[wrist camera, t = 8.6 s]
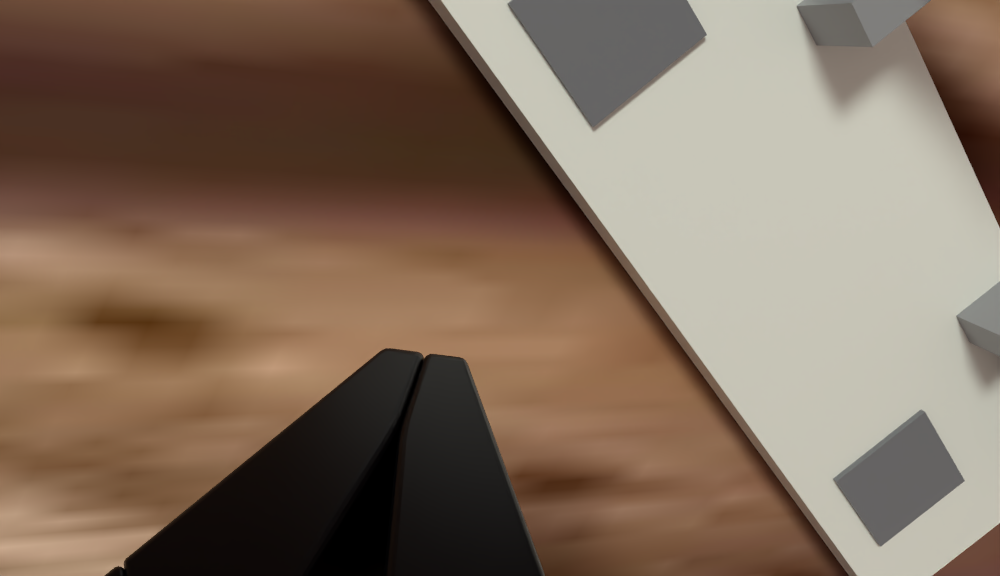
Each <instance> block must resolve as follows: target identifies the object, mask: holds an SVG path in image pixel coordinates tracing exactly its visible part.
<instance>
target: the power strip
mask: <svg viewBox="0 0 1000 576" xmlns="http://www.w3.org/2000/svg"><path fill="white" fill-rule="evenodd" d="M929 1H931V0H429V2H430V3H431V5H432V6H433V7H434V9H435V10H436V11H437V13H438V14H439V16H440V17H441V18H442V20H443V21H444V22H445V24H446V25H447V26H448V28H449V29H450V31H451V32H452V33H453V35H454V36H455V37H456V39H457V40H458V42H459V43H460V44H461V46H462V47H463V48H464V50H465V51H466V52H467V54H468V55H469V57H470V58H471V59H472V61H473V62H474V63H475V65H476V66H477V68H478V69H479V70H480V72H481V73H482V74H483V76H484V77H485V78H486V80H487V81H488V83H489V84H490V85H491V87H492V88H493V89H494V91H495V92H496V94H497V95H498V96H499V98H500V99H501V100H502V102H503V103H504V104H505V106H506V107H507V109H508V110H509V111H510V113H511V114H512V115H513V117H514V118H515V120H516V121H517V122H518V124H519V125H520V126H521V128H522V129H523V130H524V132H525V133H526V135H527V136H528V137H529V139H530V140H531V141H532V143H533V144H534V146H535V147H536V148H537V150H538V151H539V152H540V154H541V155H542V156H543V158H544V159H545V161H546V162H547V163H548V165H549V166H550V167H551V169H552V170H553V172H554V173H555V174H556V176H557V177H558V178H559V180H560V181H561V182H562V184H563V185H564V187H565V188H566V189H567V191H568V192H569V193H570V195H571V196H572V198H573V199H574V200H575V202H576V203H577V204H578V206H579V207H580V208H581V210H582V211H583V213H584V214H585V215H586V217H587V218H588V219H589V221H590V222H591V224H592V225H593V226H594V228H595V229H596V230H597V232H598V233H599V234H600V236H601V237H602V239H603V240H604V241H605V243H606V244H607V245H608V247H609V248H610V250H611V251H612V252H613V254H614V255H615V256H616V258H617V259H618V260H619V262H620V263H621V265H622V266H623V267H624V269H625V270H626V271H627V273H628V274H629V276H630V277H631V278H632V280H633V281H634V282H635V284H636V285H637V286H638V288H639V289H640V291H641V292H642V293H643V295H644V296H645V297H646V299H647V300H648V302H649V303H650V304H651V306H652V307H653V308H654V310H655V311H656V312H657V314H658V315H659V317H660V318H661V319H662V321H663V322H664V323H665V325H666V326H667V328H668V329H669V330H670V332H671V333H672V334H673V336H674V337H675V338H676V340H677V341H678V343H679V344H680V345H681V347H682V348H683V349H684V351H685V352H686V354H687V355H688V356H689V358H690V359H691V360H692V362H693V363H694V364H695V366H696V367H697V369H698V370H699V371H700V373H701V374H702V375H703V377H704V378H705V380H706V381H707V382H708V384H709V385H710V386H711V388H712V389H713V390H714V392H715V393H716V395H717V396H718V397H719V399H720V400H721V401H722V403H723V404H724V406H725V407H726V408H727V410H728V411H729V412H730V414H731V415H732V416H733V418H734V419H735V421H736V422H737V423H738V425H739V426H740V427H741V429H742V430H743V432H744V433H745V434H746V436H747V437H748V438H749V440H750V441H751V442H752V444H753V445H754V447H755V448H756V449H757V451H758V452H759V453H760V455H761V456H762V458H763V459H764V460H765V462H766V463H767V464H768V466H769V467H770V468H771V470H772V471H773V473H774V474H775V475H776V477H777V478H778V479H779V481H780V482H781V484H782V485H783V486H784V488H785V489H786V490H787V492H788V493H789V494H790V496H791V497H792V499H793V500H794V501H795V503H796V504H797V505H798V507H799V508H800V510H801V511H802V512H803V514H804V515H805V516H806V518H807V519H808V520H809V522H810V523H811V525H812V526H813V527H814V529H815V530H816V531H817V533H818V534H819V536H820V537H821V538H822V540H823V541H824V542H825V544H826V545H827V546H828V548H829V549H830V551H831V552H832V553H833V555H834V556H835V557H836V559H837V560H838V562H839V563H840V564H841V566H842V567H843V568H844V570H845V571H846V572H847V574H848V575H849V576H932V575H934V574H935V573H936V572H937V571H939V570H940V569H941V568H943V567H944V566H945V565H946V564H948V563H949V562H950V561H951V560H953V559H954V558H955V557H957V556H958V555H959V554H960V553H962V552H963V551H964V550H966V549H967V548H968V547H969V546H971V545H972V544H973V543H975V542H976V541H977V540H978V539H980V538H981V537H982V536H984V535H985V534H986V533H987V532H989V531H990V530H991V529H993V528H994V527H995V526H996V525H998V524H999V523H1000V228H999V226H998V223H997V221H996V219H995V217H994V215H993V212H992V210H991V208H990V206H989V204H988V201H987V199H986V197H985V195H984V193H983V190H982V188H981V186H980V184H979V182H978V179H977V177H976V175H975V173H974V171H973V168H972V166H971V164H970V162H969V160H968V157H967V155H966V153H965V151H964V149H963V146H962V144H961V142H960V140H959V138H958V135H957V133H956V131H955V129H954V127H953V124H952V122H951V120H950V118H949V116H948V113H947V111H946V109H945V107H944V105H943V102H942V100H941V98H940V96H939V94H938V91H937V89H936V87H935V85H934V83H933V80H932V78H931V76H930V74H929V72H928V69H927V67H926V65H925V63H924V61H923V58H922V56H921V54H920V52H919V50H918V47H917V45H916V43H915V41H914V39H913V36H912V34H911V32H910V30H909V28H908V25H907V23H906V20H907V19H908V18H909V17H911V16H912V15H913V14H914V13H916V12H917V11H918V10H919V9H921V8H922V7H923V6H924V5H926V4H927V3H928V2H929Z"/></svg>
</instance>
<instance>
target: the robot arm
mask: <svg viewBox="0 0 1000 576" xmlns="http://www.w3.org/2000/svg"><path fill="white" fill-rule="evenodd" d="M105 576H545V574H544V571H543V568H542V566H541V563H540V560H539V558H538V555H537V552H536V549H535V547H534V544H533V541H532V538H531V536H530V533H529V530H528V528H527V525H526V522H525V519H524V517H523V514H522V511H521V508H520V506H519V503H518V500H517V497H516V495H515V492H514V489H513V487H512V484H511V481H510V478H509V476H508V473H507V470H506V467H505V465H504V462H503V459H502V457H501V454H500V451H499V448H498V446H497V443H496V440H495V437H494V435H493V432H492V429H491V426H490V424H489V421H488V418H487V416H486V413H485V410H484V407H483V405H482V402H481V399H480V396H479V394H478V391H477V388H476V386H475V383H474V380H473V377H472V375H471V372H470V369H469V366H468V364H467V362H466V361H465V360H464V359H463V358H460V357H453V356H445V355H437V354H429V355H427V356H426V357H425V358H424V357H423V355H422V354H421V353H419V352H414V351H406V350H399V349H391V348H389V349H384V350H382V351H380V352H379V353H378V354H376V355H375V356H374V357H373V358H372V359H370V360H369V361H368V362H367V363H365V364H364V365H363V366H362V367H360V368H359V369H358V370H357V371H356V372H354V373H353V374H352V375H351V376H349V377H348V378H347V379H346V380H345V381H343V382H342V383H341V384H340V385H338V386H337V387H336V388H335V389H334V390H332V391H331V392H330V393H329V394H327V395H326V396H325V397H324V398H322V399H321V400H320V401H319V402H318V403H316V404H315V405H314V406H313V407H311V408H310V409H309V410H308V411H307V412H305V413H304V414H303V415H302V416H300V417H299V418H298V419H297V420H296V421H294V422H293V423H292V424H291V425H289V426H288V427H287V428H286V429H284V430H283V431H282V432H281V433H280V434H278V435H277V436H276V437H275V438H273V439H272V440H271V441H270V442H269V443H267V444H266V445H265V446H264V447H262V448H261V449H260V450H259V451H258V452H256V453H255V454H254V455H253V456H251V457H250V458H249V459H248V460H247V461H245V462H244V463H243V464H242V465H240V466H239V467H238V468H237V469H235V470H234V471H233V472H232V473H231V474H229V475H228V476H227V477H226V478H224V479H223V480H222V481H221V482H220V483H218V484H217V485H216V486H215V487H213V488H212V489H211V490H210V491H209V492H207V493H206V494H205V495H204V496H202V497H201V498H200V499H199V500H197V501H196V502H195V503H194V504H193V505H191V506H190V507H189V508H188V509H186V510H185V511H184V512H183V513H182V514H180V515H179V516H178V517H177V518H175V519H174V520H173V521H172V522H171V523H169V524H168V525H167V526H166V527H164V528H163V529H162V530H161V531H159V532H158V533H157V534H156V535H155V536H153V537H152V538H151V539H150V540H148V541H147V542H146V543H145V544H144V545H142V546H141V547H140V548H139V549H137V550H136V551H135V552H134V553H133V554H131V555H130V556H129V557H128V558H126V560H125V561H124V568H122V567H119V566H118V567H115V568H114V569H112V570H111V571H110V572H109V573H107V574H106V575H105Z"/></svg>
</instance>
